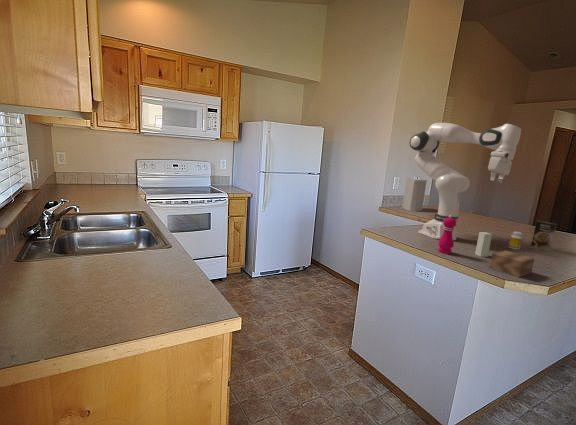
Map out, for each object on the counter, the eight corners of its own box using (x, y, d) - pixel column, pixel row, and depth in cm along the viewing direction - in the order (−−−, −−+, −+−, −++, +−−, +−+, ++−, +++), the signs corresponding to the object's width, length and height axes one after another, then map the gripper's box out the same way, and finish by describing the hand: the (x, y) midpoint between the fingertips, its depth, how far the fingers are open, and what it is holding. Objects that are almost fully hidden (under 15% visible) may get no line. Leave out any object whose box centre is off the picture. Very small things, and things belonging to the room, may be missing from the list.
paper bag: (425, 212, 284) (430, 181, 279) (409, 211, 284) (414, 179, 279) (417, 208, 303) (422, 179, 297) (402, 207, 303) (406, 177, 297)
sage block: (474, 254, 167) (479, 232, 165) (481, 254, 167) (486, 232, 165) (480, 256, 163) (484, 234, 161) (487, 256, 164) (492, 234, 161)
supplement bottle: (510, 246, 188) (514, 230, 186) (521, 249, 184) (524, 233, 182) (506, 247, 185) (510, 231, 183) (517, 250, 181) (520, 233, 179)
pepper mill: (433, 250, 168) (440, 213, 164) (443, 249, 171) (450, 213, 167) (445, 254, 162) (452, 216, 158) (455, 253, 165) (462, 216, 161)
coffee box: (529, 247, 188) (536, 221, 184) (531, 246, 192) (537, 220, 189) (549, 252, 182) (556, 224, 178) (550, 249, 186) (557, 223, 183)
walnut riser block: (489, 267, 147) (492, 253, 145) (502, 264, 153) (505, 250, 152) (518, 277, 137) (522, 262, 136) (531, 273, 143) (534, 258, 142)
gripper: (504, 157, 176) (496, 182, 178) (490, 151, 163) (481, 178, 166) (517, 159, 171) (509, 184, 174) (503, 153, 158) (494, 180, 161)
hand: (495, 181), depth 170 cm, fingers open, 8 cm apart
